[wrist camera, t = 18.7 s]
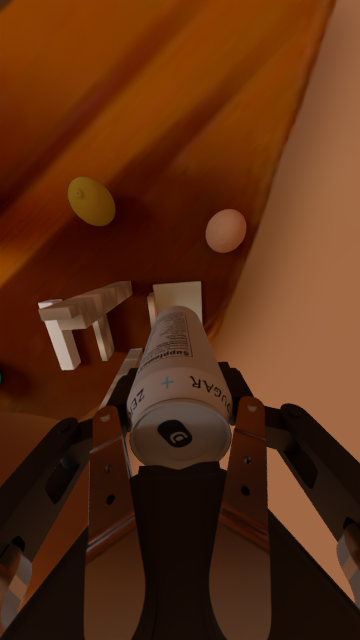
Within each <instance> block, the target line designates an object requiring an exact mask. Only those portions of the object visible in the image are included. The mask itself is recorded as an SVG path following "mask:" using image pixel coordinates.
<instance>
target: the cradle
mask: <svg viewBox="0 0 360 640" xmlns="http://www.w3.org/2000/svg"><path fill="white" fill-rule="evenodd" d="M132 294H133V292H132V287H131V281H123V282H116V283H113V284H110V285H107V286H104V287H101V288H99V289H96V290H93V291H90V292H87V293H84V294H81V295H78V296H76V297H73V298H70V299H67V300H64V301H61V302H58V303H56V304H53V305H50V306H47V307H44V308H41V309H38V311H39V313H40V316H41V319H42V321H50V320H57V323H58V326H59V329H60V330H72V329H86V328H87V327H89V326H90V325H91V324H93V327H94V331H95V335H96V338H97V342H98V346H99V350H100V353H101V357H102V361H108V359H109V358H110V356H111V355H112V353H113V352H114V351H115V349H114V345H113V340H112V336H111V332H110V328H109V323H108V319H107V315H106V313H108V312H109V311H110V310H112V309H113V308H114V307H116V306H117V305H118V304H120V303H121V302H123V301H124V300H125V299H127V298H128V297H129V296H131V295H132ZM147 300H148V307H149V314H150V321H151V328H153V326H154V323H155V320H156V318H157V316H158V311H157V303H156V295H155V293H154V292H152V293H150V294H149V295H148V296H147ZM142 357H143V351H142V348H138V349H130V351H129V353H128V355H127V357H126V359H125V361H124V362H123V364H122V366H121V368H120V370H119V372H118V374H117V376H116V378H115V379H114V381H113V383H112V385H111V387H110V389H109V391H108V393H107V395H106V396H105V398H104V400H103V402H102V404H101V406H100V408H99V410H100V409H101V408H103V407H105V406H106V404H107V402H108V400H109V398H110V396H111V394H112V392H113V391H114V388H115V386H116V384H117V382H118V380H119V379H120V378H121V377H122V376H123V375H127V374H128V371H129V369H130V368H139V365H140V363H141V360H142Z"/></svg>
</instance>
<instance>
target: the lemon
mask: <svg viewBox="0 0 360 640" xmlns="http://www.w3.org/2000/svg"><path fill="white" fill-rule="evenodd" d="M68 199H69V203H70V205H71V207H72V209H73V210H74V211H75V213H76V214H77V215H78V216H79V217H80V218H81V219H82V220H84V221H85V222H87V223H89V224H91V225H95V226H104V225H107V224H109V223H110V222H111V221H112V220H113V218H114V215H115V203H114V200H113V198H112V196H111V194H110V192H109V191H108V190H107V189H106V187H105V186H103V185H102V184H101V183H100V182H98V181H96V180H94V179H92V178H89V177H78V178H76V179H74V180H73V181H72V182H71V183H70V185H69V188H68Z"/></svg>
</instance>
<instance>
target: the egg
mask: <svg viewBox="0 0 360 640" xmlns="http://www.w3.org/2000/svg"><path fill="white" fill-rule="evenodd" d="M245 234H246V221H245V219H244V217H243V216H242V214H241V213H239V212H238V211H236V210H233V209H225V210H222V211H220V212H218V213H217V214H215V215H214V216H213V217H212V218H211V220H210V221H209V223H208V225H207V228H206V240H207V243H208V245H209V246H210V247H211V248H212V249H213V250H214V251H217V252H220V253H226V252H229V251H232V250H234V249H235V248H236V247H238V246H239V245H240V244H241V242H242V241H243V239H244V237H245Z"/></svg>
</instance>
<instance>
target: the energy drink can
mask: <svg viewBox="0 0 360 640" xmlns="http://www.w3.org/2000/svg"><path fill="white" fill-rule="evenodd" d="M232 410H233V402H232V397H231V394H230V391H229V389H228V387H227V384H226V382H225V379H224V377H223V374H222V372H221V370H220V367H219V365H218V362H217V360H216V358H215V355H214V353H213V350H212V348H211V345H210V343H209V341H208V338H207V336H206V333H205V331H204V328H203V326H202V324H201V321H200V319H199V317H198V315H197V314H196V313H195V312H194V311H193V310H191V309H189V308H187V307H184V306H171V307H168V308H166V309H164V310H163V311H162V312H161V313H160V314H159V315H158V316H157V318H156V320H155V323H154V326H153V328H152V331H151V334H150V337H149V340H148V343H147V346H146V348H145V351H144V354H143V357H142V360H141V363H140V365H139V368H138V371H137V374H136V377H135V380H134V383H133V385H132V388H131V391H130V394H129V397H128V400H127V415H128V420H129V423H130V426H131V431H130V440H129V442H130V446H131V450H132V451H133V453H134V455H135V456H136V457H137V459H138V460H139V461H140V462H142V463H143V464H144V465H146V466H149V465H161V466H165V467H169V468H173V469H177V470H180V469H183V468H186V467H188V466H191V465H193V464H196V463H199V462H210V461H220V460H221V459H222V458H223V457H224V456H225V454H226V453H227V451H228V449H229V447H230V444H231V438H232V437H231V436H232V434H231V430H230V426H229V424H230V420H231V416H232Z"/></svg>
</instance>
